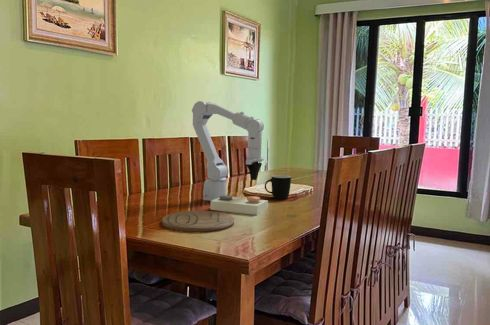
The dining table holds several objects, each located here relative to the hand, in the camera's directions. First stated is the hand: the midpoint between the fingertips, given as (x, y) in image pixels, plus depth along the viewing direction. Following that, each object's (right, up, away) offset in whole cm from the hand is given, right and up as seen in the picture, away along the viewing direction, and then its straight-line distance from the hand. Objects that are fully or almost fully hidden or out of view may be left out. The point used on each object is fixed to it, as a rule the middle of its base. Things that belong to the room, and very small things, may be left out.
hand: (253, 179), depth 189 cm
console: (-6, -12, -10) cm, 17 cm away
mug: (+11, -9, +16) cm, 21 cm away
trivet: (-20, -14, -34) cm, 42 cm away
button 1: (-12, -10, -8) cm, 17 cm away
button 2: (0, -10, -13) cm, 16 cm away
